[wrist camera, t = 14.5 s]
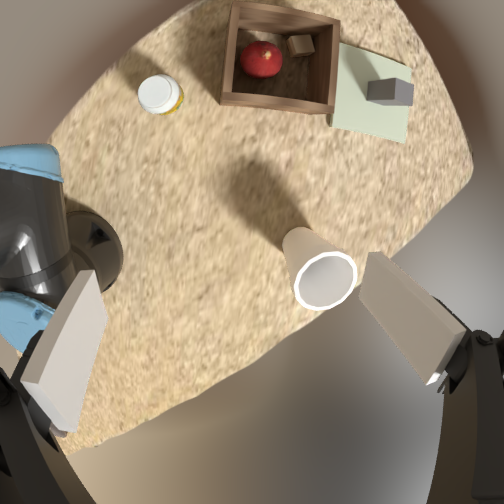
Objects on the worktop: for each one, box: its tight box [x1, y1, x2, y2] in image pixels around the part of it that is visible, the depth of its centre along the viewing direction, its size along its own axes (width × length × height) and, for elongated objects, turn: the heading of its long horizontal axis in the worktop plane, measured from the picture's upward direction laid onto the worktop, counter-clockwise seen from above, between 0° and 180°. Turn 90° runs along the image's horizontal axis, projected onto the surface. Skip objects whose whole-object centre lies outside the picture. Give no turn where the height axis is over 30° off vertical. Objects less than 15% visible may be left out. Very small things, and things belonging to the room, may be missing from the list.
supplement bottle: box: [138, 74, 184, 115], centre depth 31 cm, size 5×5×10 cm
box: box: [220, 1, 340, 115], centre depth 32 cm, size 14×14×9 cm
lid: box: [329, 43, 414, 144], centre depth 35 cm, size 15×15×10 cm
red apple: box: [240, 41, 283, 79], centre depth 32 cm, size 6×6×8 cm
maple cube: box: [286, 35, 315, 57], centre depth 33 cm, size 3×3×3 cm
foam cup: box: [282, 227, 357, 311], centre depth 43 cm, size 10×9×13 cm
